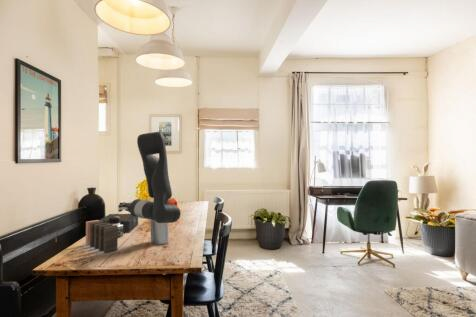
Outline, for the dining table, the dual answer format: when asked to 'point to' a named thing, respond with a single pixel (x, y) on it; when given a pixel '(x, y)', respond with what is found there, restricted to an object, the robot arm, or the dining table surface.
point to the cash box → (123, 221)
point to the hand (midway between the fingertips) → (121, 204)
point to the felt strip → (98, 250)
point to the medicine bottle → (117, 222)
